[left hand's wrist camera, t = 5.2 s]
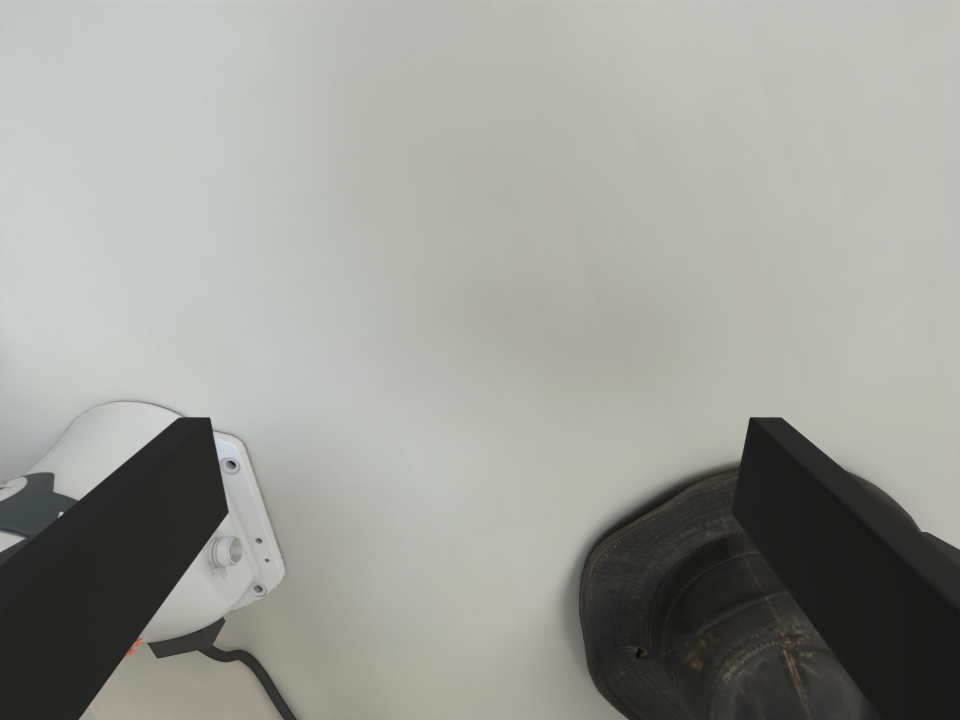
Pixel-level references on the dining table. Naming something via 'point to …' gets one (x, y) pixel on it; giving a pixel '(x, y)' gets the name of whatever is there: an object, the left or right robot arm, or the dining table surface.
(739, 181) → the dining table surface
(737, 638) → the hat
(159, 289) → the dining table surface
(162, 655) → the right robot arm
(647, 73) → the dining table surface
